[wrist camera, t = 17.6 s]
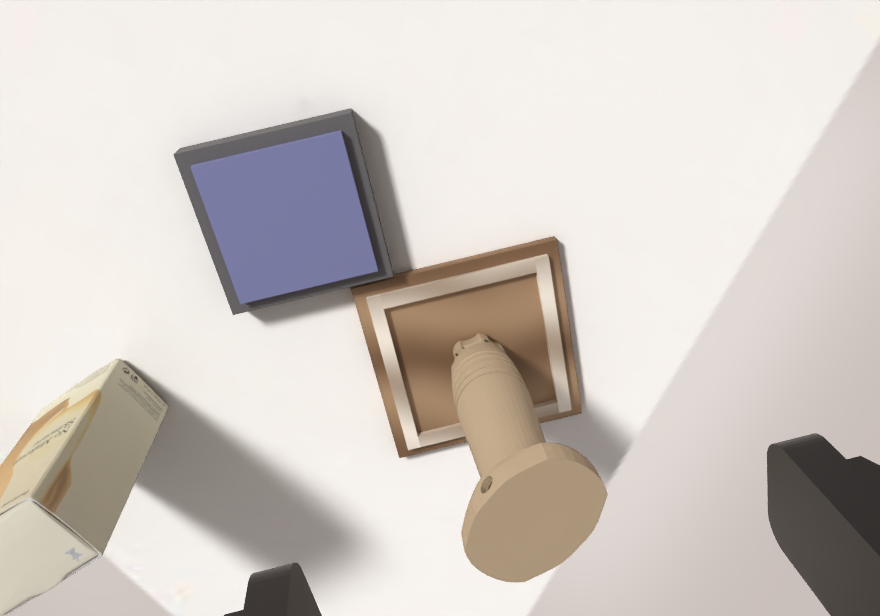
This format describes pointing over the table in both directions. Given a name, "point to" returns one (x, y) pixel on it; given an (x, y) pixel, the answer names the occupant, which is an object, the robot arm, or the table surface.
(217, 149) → the ink pad
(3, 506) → the skincare box
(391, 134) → the table surface
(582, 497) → the handle
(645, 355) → the table surface
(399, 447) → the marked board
